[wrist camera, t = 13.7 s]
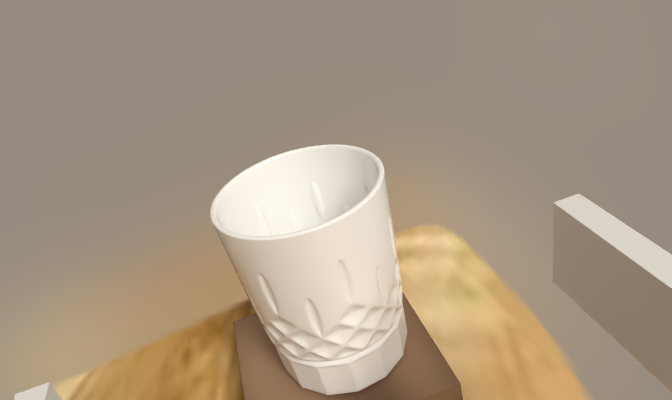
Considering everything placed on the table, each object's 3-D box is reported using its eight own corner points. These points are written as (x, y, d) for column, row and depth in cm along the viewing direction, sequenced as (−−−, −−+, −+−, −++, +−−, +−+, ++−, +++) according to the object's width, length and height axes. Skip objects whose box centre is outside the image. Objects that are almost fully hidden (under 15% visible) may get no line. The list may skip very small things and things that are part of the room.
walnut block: (279, 515, 25) (254, 466, 23) (253, 367, 34) (232, 322, 32) (468, 436, 26) (460, 383, 24) (396, 312, 35) (385, 265, 33)
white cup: (269, 317, 31) (211, 173, 26) (394, 278, 32) (361, 129, 27) (281, 428, 25) (206, 261, 20) (441, 377, 25) (407, 200, 20)
